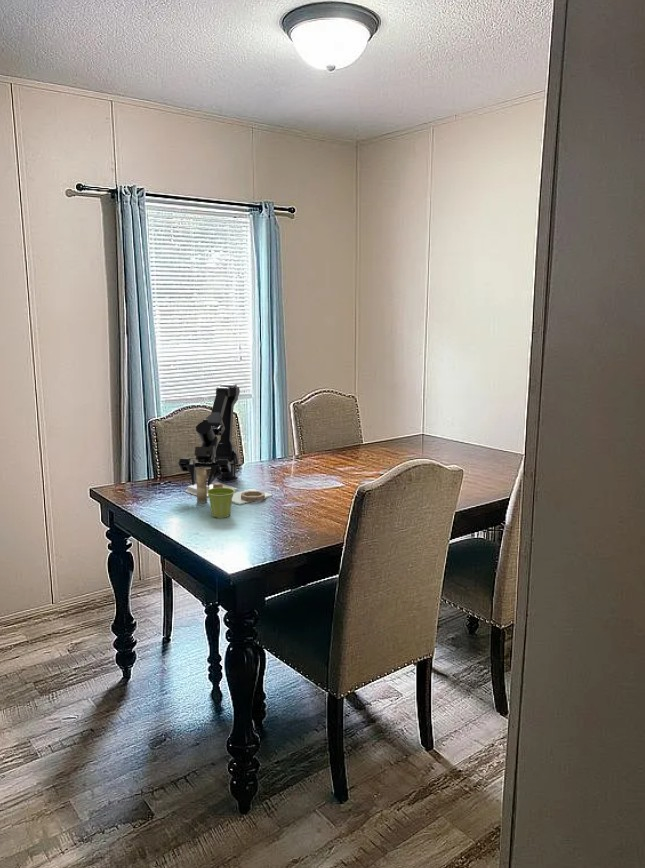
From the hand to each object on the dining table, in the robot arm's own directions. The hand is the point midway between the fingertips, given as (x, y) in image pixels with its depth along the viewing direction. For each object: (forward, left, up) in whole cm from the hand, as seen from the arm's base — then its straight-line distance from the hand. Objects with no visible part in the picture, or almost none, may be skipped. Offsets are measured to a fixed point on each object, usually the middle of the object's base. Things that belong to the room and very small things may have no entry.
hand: (200, 485), depth 244 cm
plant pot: (+4, +17, -7) cm, 19 cm away
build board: (-16, +7, -7) cm, 19 cm away
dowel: (-1, -1, -7) cm, 7 cm away
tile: (-12, -10, -7) cm, 17 cm away
